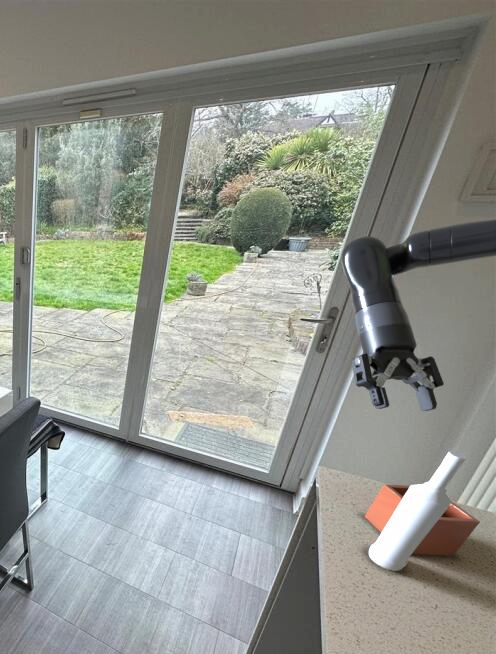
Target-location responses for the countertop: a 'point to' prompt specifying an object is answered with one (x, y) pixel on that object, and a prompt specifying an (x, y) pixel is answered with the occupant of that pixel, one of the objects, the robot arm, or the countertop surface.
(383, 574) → the countertop surface
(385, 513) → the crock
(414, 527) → the bottle
